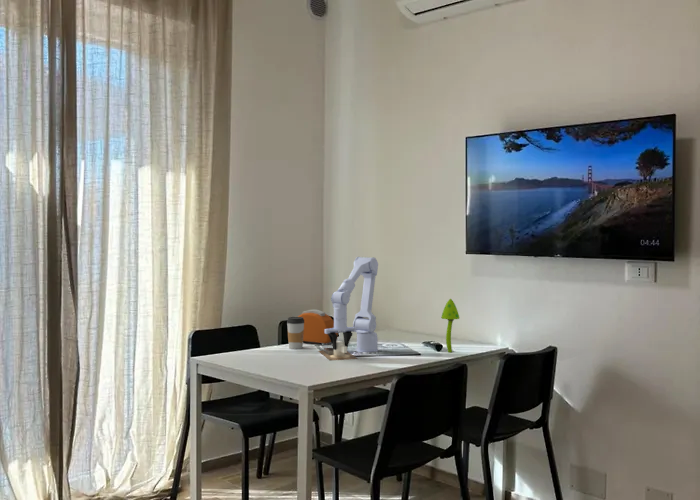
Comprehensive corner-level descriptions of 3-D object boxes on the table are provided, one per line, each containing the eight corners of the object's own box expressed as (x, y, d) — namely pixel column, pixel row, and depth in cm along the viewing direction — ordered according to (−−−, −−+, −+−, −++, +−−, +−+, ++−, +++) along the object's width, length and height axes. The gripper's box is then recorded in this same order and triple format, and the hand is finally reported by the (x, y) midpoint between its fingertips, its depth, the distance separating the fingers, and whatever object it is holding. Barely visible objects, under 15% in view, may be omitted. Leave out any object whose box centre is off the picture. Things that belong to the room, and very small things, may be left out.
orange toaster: (338, 343, 347) (338, 310, 347) (328, 346, 340) (328, 312, 339) (299, 339, 359) (299, 307, 359) (289, 342, 352) (289, 309, 351)
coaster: (347, 354, 315) (347, 353, 315) (352, 358, 307) (352, 357, 307) (328, 355, 313) (328, 354, 313) (332, 359, 304) (332, 358, 304)
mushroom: (462, 352, 325) (463, 298, 324) (452, 354, 319) (453, 300, 318) (447, 349, 330) (448, 297, 329) (437, 352, 324) (437, 298, 323)
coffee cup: (301, 351, 327) (301, 319, 326) (284, 350, 329) (284, 318, 328) (306, 347, 335) (306, 316, 335) (289, 347, 337) (289, 316, 336)
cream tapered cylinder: (331, 355, 312) (331, 341, 312) (341, 354, 314) (341, 340, 314) (340, 358, 304) (340, 344, 304) (350, 357, 306) (350, 343, 306)
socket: (341, 350, 324) (341, 347, 324) (346, 353, 316) (346, 350, 316) (323, 351, 322) (323, 348, 322) (328, 354, 314) (328, 351, 314)
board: (344, 350, 328) (344, 349, 328) (358, 360, 305) (358, 359, 305) (317, 352, 324) (317, 350, 324) (329, 361, 301) (329, 360, 301)
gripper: (351, 316, 316) (350, 346, 316) (321, 318, 309) (321, 348, 310) (358, 318, 310) (357, 348, 310) (328, 320, 303) (328, 351, 304)
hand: (340, 348), depth 310 cm, fingers closed on cream tapered cylinder, 5 cm apart
